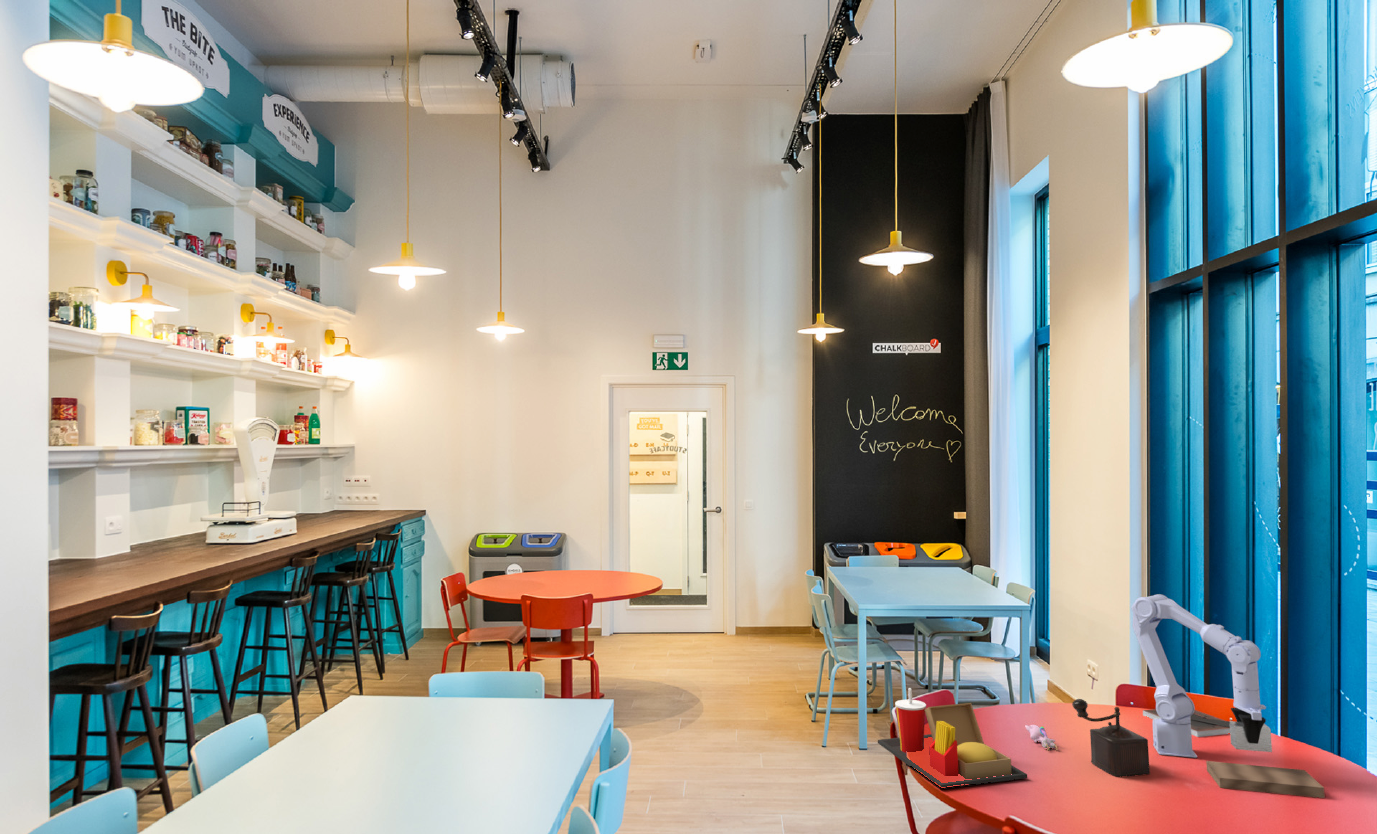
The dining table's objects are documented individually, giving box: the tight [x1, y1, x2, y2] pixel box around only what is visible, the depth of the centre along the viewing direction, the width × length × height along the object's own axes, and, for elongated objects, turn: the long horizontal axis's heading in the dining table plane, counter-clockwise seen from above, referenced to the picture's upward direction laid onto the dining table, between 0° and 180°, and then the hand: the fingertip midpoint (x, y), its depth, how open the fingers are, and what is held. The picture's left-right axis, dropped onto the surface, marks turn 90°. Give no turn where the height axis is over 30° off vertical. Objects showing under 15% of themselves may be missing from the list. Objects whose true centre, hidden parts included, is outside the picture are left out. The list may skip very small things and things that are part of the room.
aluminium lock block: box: [1228, 720, 1273, 753], centre depth 210 cm, size 8×4×6 cm, turn 71°
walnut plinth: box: [1206, 760, 1326, 799], centre depth 202 cm, size 22×12×2 cm, turn 70°
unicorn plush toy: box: [1024, 724, 1059, 751], centre depth 235 cm, size 6×6×15 cm
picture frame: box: [1142, 708, 1230, 738], centre depth 250 cm, size 16×2×22 cm
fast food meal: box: [877, 687, 1028, 787], centre depth 222 cm, size 26×35×18 cm
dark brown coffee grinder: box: [1071, 698, 1151, 778], centre depth 215 cm, size 16×11×18 cm
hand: (1249, 739), depth 210 cm, fingers closed on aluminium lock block, 4 cm apart
